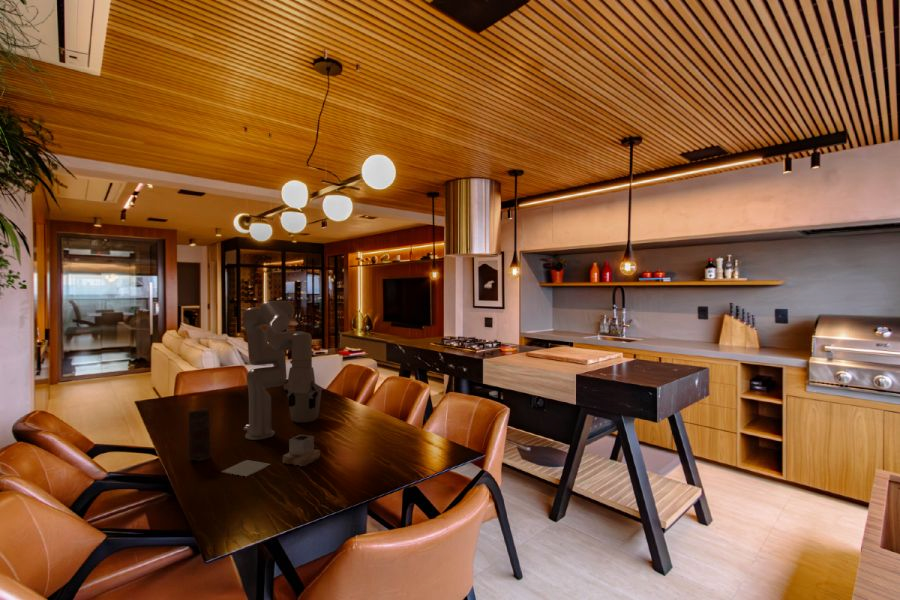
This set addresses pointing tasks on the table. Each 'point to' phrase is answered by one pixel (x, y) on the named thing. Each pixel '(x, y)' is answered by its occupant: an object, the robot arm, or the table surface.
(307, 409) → the canister
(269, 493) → the table surface
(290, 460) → the peg stand
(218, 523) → the table surface
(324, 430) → the table surface
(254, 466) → the rubber pad
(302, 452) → the hollow square tube
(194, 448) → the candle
